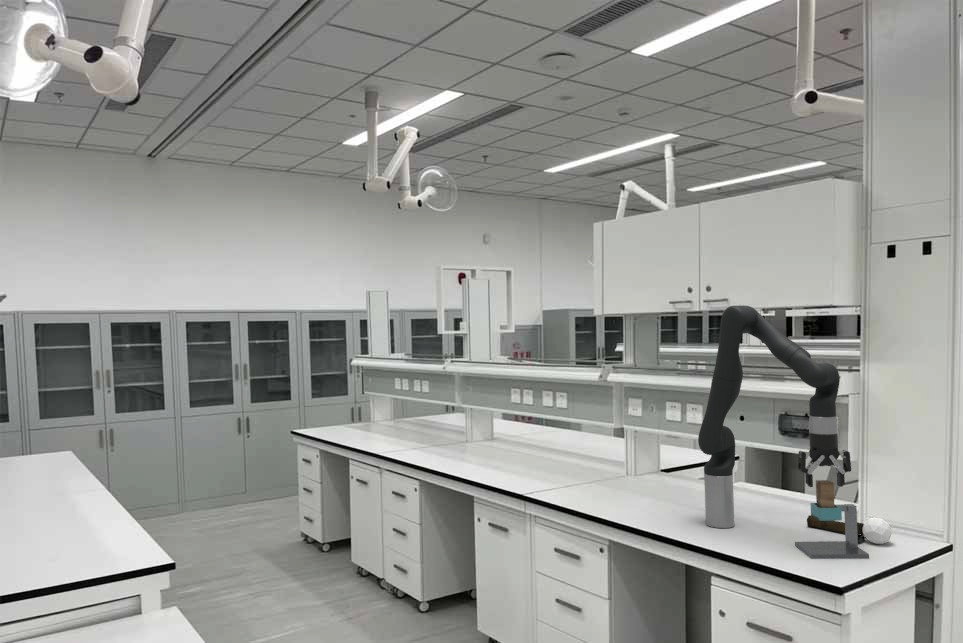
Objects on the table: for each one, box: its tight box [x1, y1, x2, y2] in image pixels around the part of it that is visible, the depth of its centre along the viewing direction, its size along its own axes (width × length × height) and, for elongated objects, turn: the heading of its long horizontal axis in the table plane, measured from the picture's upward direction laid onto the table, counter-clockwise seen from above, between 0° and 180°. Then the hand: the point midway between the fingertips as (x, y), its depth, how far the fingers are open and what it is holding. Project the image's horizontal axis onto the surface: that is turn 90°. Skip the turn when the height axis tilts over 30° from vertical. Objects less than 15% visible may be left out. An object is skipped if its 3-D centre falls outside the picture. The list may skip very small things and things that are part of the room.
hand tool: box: [806, 514, 864, 535], centre depth 219 cm, size 19×4×5 cm, turn 35°
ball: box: [862, 517, 893, 545], centre depth 208 cm, size 8×8×8 cm
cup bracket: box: [794, 502, 870, 560], centre depth 201 cm, size 12×16×14 cm
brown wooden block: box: [815, 479, 835, 508], centre depth 201 cm, size 4×4×10 cm
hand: (825, 486), depth 201 cm, fingers open, 8 cm apart
